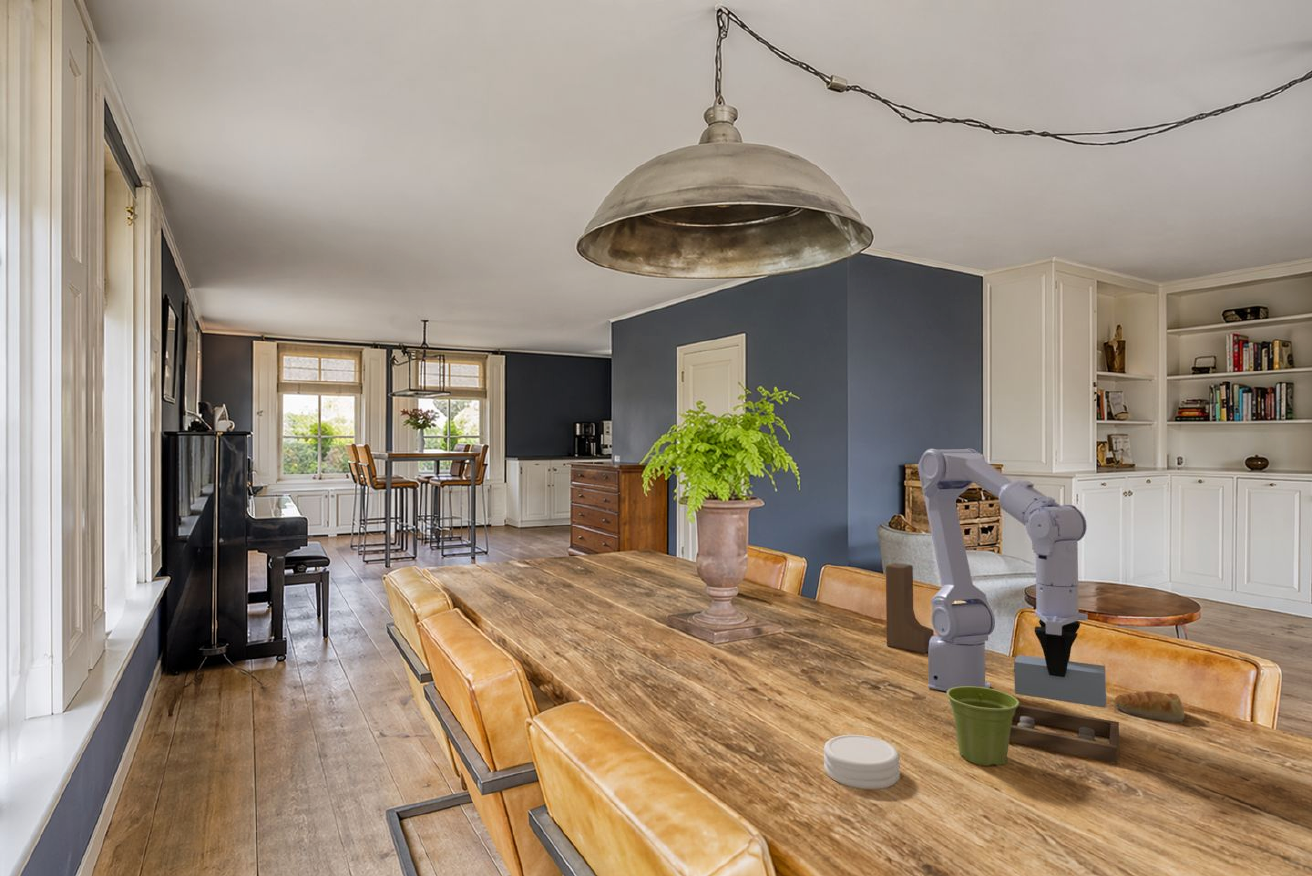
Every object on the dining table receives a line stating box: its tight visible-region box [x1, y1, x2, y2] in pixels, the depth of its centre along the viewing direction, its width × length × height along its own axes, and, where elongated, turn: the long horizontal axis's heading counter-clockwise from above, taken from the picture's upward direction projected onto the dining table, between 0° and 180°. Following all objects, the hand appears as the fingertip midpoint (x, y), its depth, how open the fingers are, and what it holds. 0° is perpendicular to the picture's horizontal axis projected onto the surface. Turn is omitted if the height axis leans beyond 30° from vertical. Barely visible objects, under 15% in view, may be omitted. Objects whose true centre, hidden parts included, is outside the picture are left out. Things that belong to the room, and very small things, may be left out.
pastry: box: [1113, 690, 1186, 723], centre depth 117 cm, size 9×7×4 cm
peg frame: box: [1009, 703, 1120, 765], centre depth 107 cm, size 16×11×2 cm
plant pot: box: [946, 686, 1020, 767], centre depth 101 cm, size 9×9×9 cm
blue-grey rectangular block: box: [1013, 654, 1107, 709], centre depth 109 cm, size 12×4×5 cm, turn 56°
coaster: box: [823, 734, 901, 790], centre depth 97 cm, size 10×10×4 cm
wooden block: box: [885, 562, 935, 654], centre depth 155 cm, size 9×4×18 cm, turn 45°
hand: (1058, 671), depth 109 cm, fingers open, 4 cm apart
